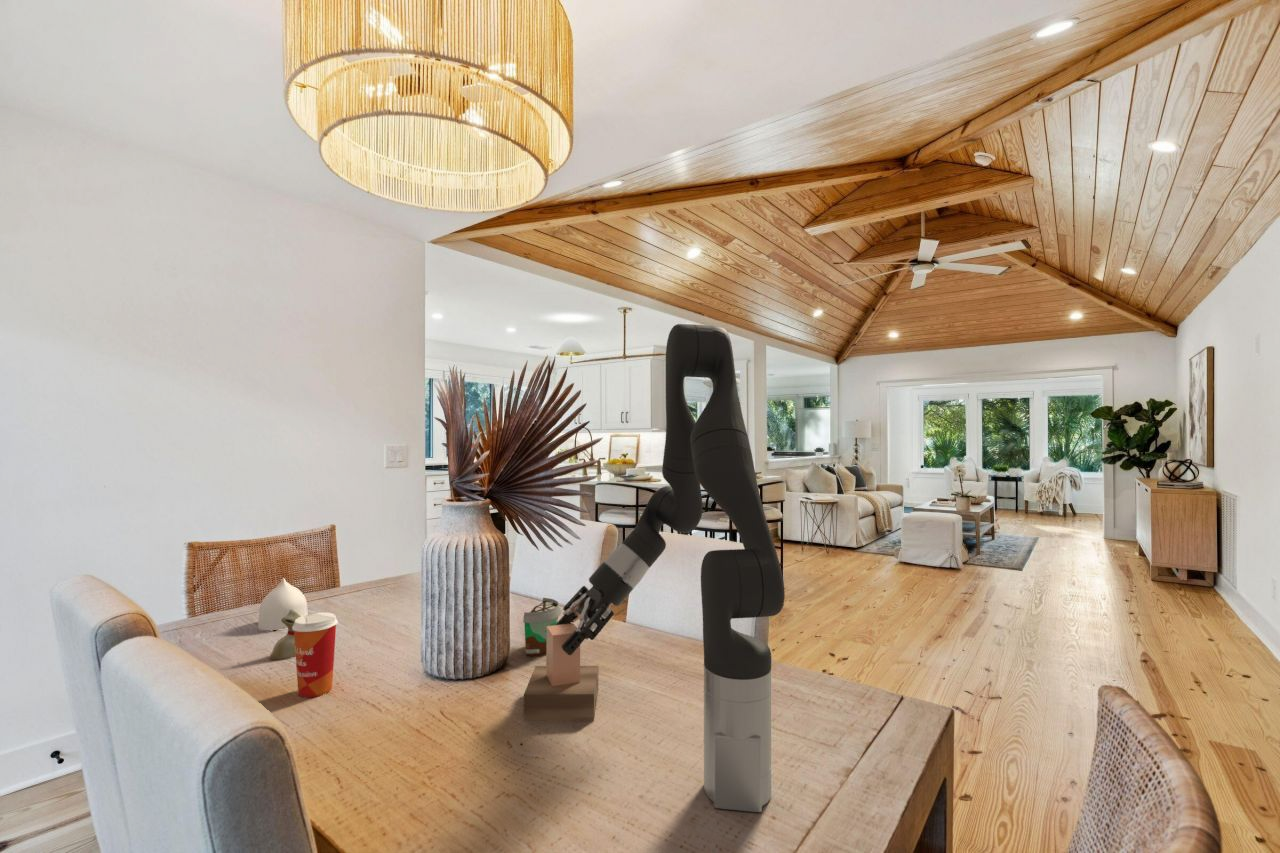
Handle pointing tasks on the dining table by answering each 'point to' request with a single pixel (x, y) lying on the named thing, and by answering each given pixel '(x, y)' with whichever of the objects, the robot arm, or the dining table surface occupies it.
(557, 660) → the peach tall block
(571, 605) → the robot arm
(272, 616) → the teardrop
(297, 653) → the paper cup
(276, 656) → the tied pouch
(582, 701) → the walnut block
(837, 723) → the dining table surface
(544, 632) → the food container
